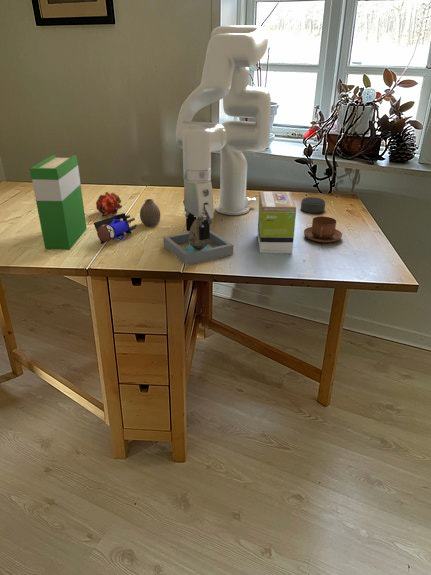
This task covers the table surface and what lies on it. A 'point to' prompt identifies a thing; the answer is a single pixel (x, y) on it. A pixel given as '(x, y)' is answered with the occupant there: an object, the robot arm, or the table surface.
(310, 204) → the smart speaker
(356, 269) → the table surface
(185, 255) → the walled pen
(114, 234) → the character figurine
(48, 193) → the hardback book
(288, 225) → the tea box
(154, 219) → the vase
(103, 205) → the dragon fruit
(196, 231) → the decorative egg
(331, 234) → the cup and saucer
